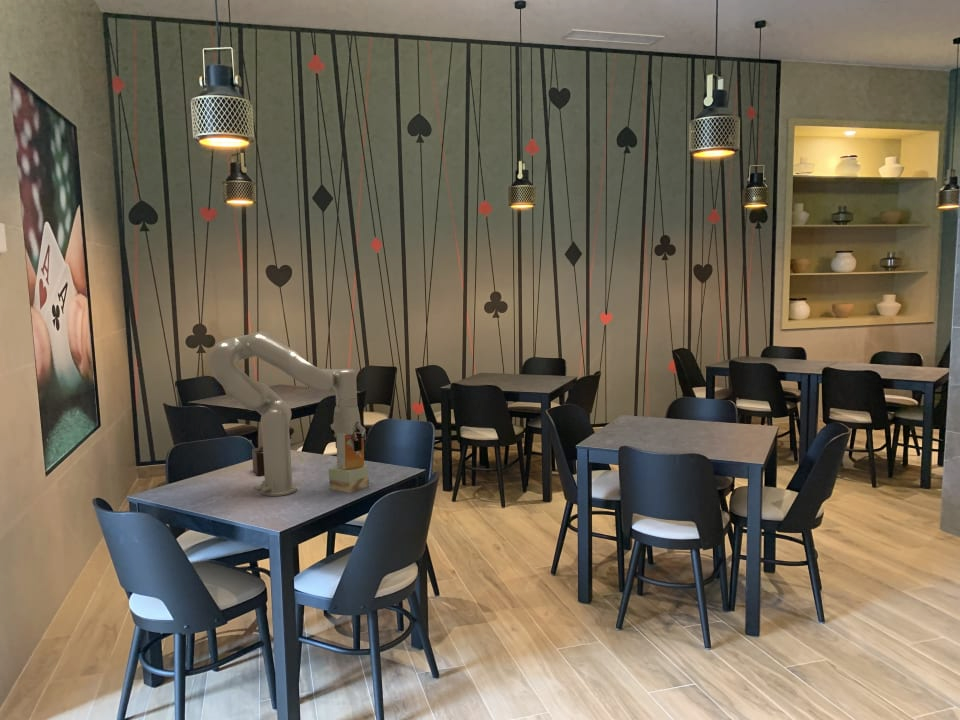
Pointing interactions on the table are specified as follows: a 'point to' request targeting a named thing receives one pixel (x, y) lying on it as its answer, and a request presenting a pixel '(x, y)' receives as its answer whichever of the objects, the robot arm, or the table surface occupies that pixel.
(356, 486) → the tower base block
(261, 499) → the table surface
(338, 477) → the tower top block
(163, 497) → the table surface
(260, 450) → the manual coffee grinder
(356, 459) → the small box
